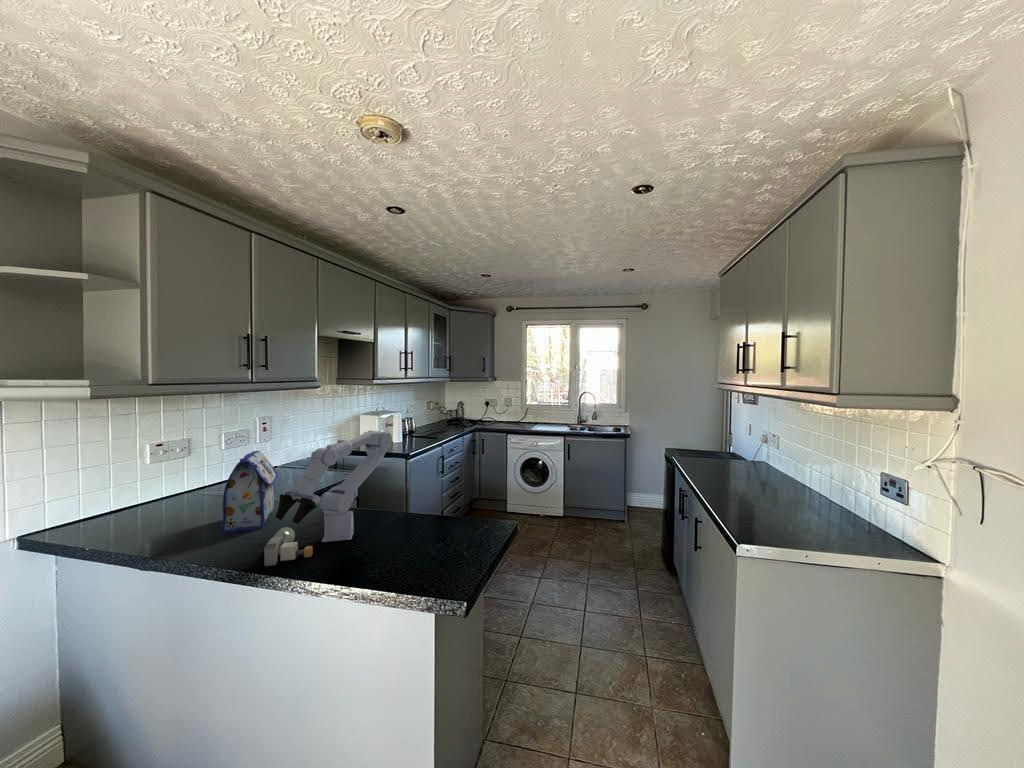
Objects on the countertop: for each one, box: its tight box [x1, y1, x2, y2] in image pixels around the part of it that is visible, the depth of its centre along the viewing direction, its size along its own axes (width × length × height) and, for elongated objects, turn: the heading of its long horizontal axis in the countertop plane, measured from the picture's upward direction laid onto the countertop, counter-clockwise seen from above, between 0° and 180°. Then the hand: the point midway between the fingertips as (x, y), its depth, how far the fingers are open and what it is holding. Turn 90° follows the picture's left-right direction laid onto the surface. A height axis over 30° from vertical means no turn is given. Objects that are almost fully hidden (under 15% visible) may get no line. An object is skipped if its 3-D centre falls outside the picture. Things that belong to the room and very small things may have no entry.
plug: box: [279, 541, 314, 562], centre depth 132 cm, size 8×4×4 cm, turn 104°
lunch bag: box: [220, 450, 278, 534], centre depth 166 cm, size 23×17×27 cm
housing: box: [263, 526, 296, 567], centre depth 134 cm, size 6×17×6 cm, turn 14°
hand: (286, 520), depth 131 cm, fingers open, 7 cm apart
